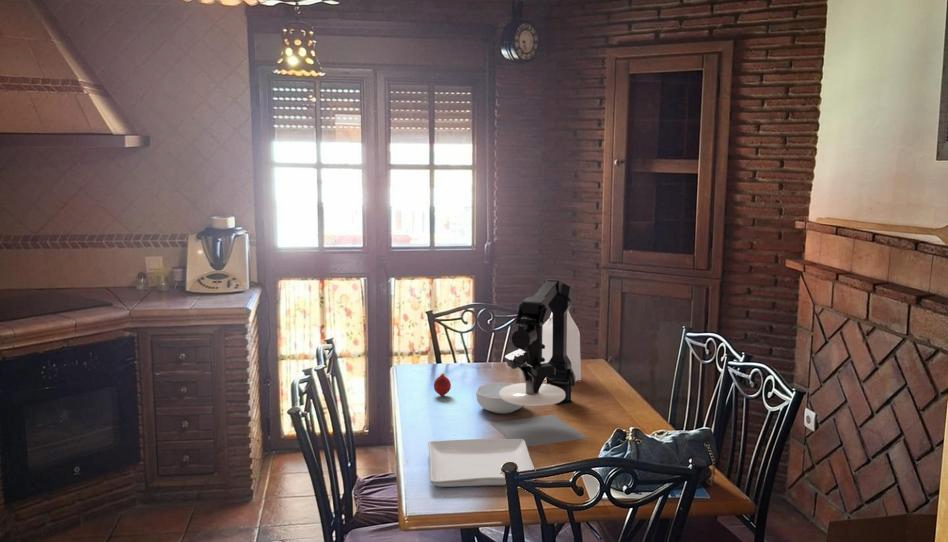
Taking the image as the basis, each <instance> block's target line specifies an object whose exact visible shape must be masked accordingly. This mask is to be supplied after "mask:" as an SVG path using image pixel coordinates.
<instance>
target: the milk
mask: <svg viewBox="0 0 948 542" xmlns="http://www.w3.org/2000/svg"><path fill="white" fill-rule="evenodd" d="M550 312H551V311H550ZM542 326H543V330H542V344H544V345H545V349H542V357H543V358H545V362H541V363H548V362H549V361H550V359H551V358H552V342H553V313H552V312H551V313H550V315H549V318H547V320H545V322H544V323H543V324H542ZM567 356H568V358H569V360H570V361H571V368H572V370H573V372H574V375H575V377H576V378H575V381H577V380H581V381H582V372H581V370H582V366H581V365H582V363H581V334H580V330H579V327H578V326H577V324H576V322H575V321H574V319H573V317H572V315H571V313H570V309H569V310H568V312H567ZM541 363H540V364H541ZM544 380H546V378H545V379H544ZM546 381H547V380H546ZM546 381H545V382H546Z"/></svg>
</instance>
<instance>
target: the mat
mask: <svg viewBox="0 0 948 542" xmlns="http://www.w3.org/2000/svg"><path fill="white" fill-rule="evenodd" d="M489 424H490V425H491V426H492V427H493V428H494V429H495V430H497V431H498V432H500V433H501V435H503V436H504V437H505V438H506V439H523V440H524V441H525V443H526V446H527V448H531V447H537V446H538V447H539V446H542V445H551V444H557V443H563V442H571V441H576V440H584V439H588V437H587V436H586V435H584V434H583V433H581V432H580V431H578V430H577V429H575V428H574V427H572V426H571V425H570V424H568V423H567V422H565V421H563V420H562V419H560V418H558V417H557V416H556V415H554V414H550V415H549V414H547V415H542V416H534V417H526V418H519V419H513V420H504V421H497V422H496V421H495V422H489Z"/></svg>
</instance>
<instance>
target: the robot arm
mask: <svg viewBox="0 0 948 542" xmlns="http://www.w3.org/2000/svg"><path fill="white" fill-rule="evenodd" d="M574 292H575V291H574V290H573V288H572V287H571V286H569V285H568V284H566V283H563V281H562V280H560V279H556V278H546V279H545V280H544V283H543V285H542V286H541V287H540V288H538V290H537V291H536V292H535V294H534V295H532V296H527V297H525V298H524V299H523V300H522V302H521V303H520V304H519V307H518V311H517V315H516V320H515V325H518V326H517V329H516V330H515V331H514V332H513V333H512V334H511V343H512V345H513V346H514V347H515V348H517V350H514V351H511V352H510V353H507V354H506V355H505V356H504V359H505V362H506V364H507V367H510V368H511V369H513V370H514V369H519V370H520V371H521V372H522V375H523V378H524V381H525V382H524V383H526V381H527V380H532V383H533V391H534V393H538V391H539V389H540V387H541V385H542V384H544V383H543V382H545V381H544V379H545V378H546V380H547V382H546V384H548V385H553V386H556V387H559V388H561V389H562V390H564V391H565V399H564V400H563V401H561V402H559V403H556V404H555V405H564V404H572V403H574V401H573V400H572V387H575V386H576V382H575V378H576V377H575V375H574V372H573V370H572V368H571V361H570V360H569V358H568V356H567V312H568V310H569V311H570V309H571V307H572V305H573V301H574V297H575V293H574ZM548 308H549V309H548ZM548 310H550V312H552V313H553V342H552V358H551V359H550V361H549V362H548V363H541V362H545V358H543V357H542V349H545V345H544V344H542V330H543V324H544V323H545V322H546V319H547V316H548V315H547V314H548ZM540 363H541V364H540Z"/></svg>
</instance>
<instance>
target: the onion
mask: <svg viewBox="0 0 948 542" xmlns="http://www.w3.org/2000/svg"><path fill="white" fill-rule="evenodd" d="M451 387H452V384H451V381H450V379H449V378H448V377H447V376H445V374H444V372H442V373H440V375H439V376H438V377H437V378H436V379H435V380H434V383H433V389H434V391H435V392H436V393H437V395H439V396H440V397H444V396H445V395H447V394H448V393H449V391H450V390H451Z"/></svg>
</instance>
